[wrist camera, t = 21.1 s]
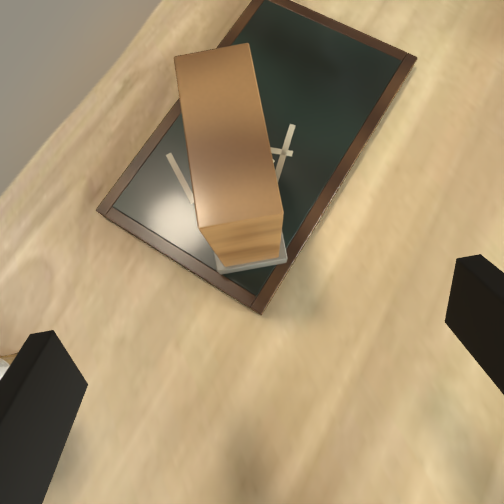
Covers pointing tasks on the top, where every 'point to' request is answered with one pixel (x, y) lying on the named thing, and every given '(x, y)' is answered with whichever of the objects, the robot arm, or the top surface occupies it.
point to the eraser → (230, 159)
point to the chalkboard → (270, 139)
